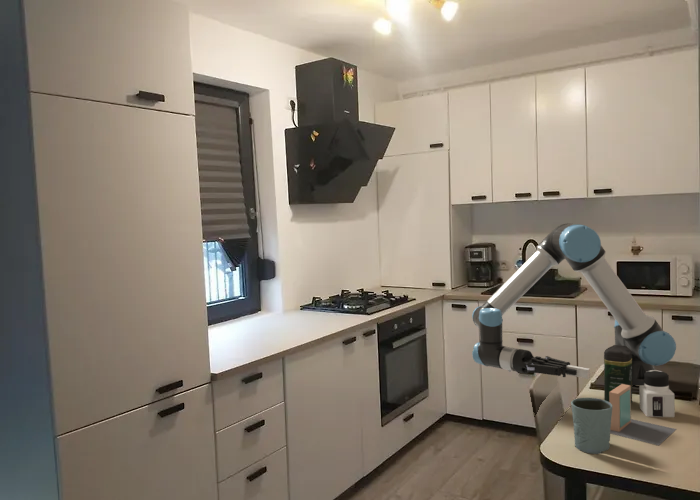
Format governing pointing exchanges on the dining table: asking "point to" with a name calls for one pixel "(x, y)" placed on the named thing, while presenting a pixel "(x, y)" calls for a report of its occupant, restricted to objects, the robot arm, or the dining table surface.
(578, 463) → the dining table surface
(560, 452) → the dining table surface
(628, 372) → the coffee jar
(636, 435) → the mat
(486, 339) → the robot arm
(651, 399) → the container
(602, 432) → the teal planter pot
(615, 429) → the salmon orange rectangular block
